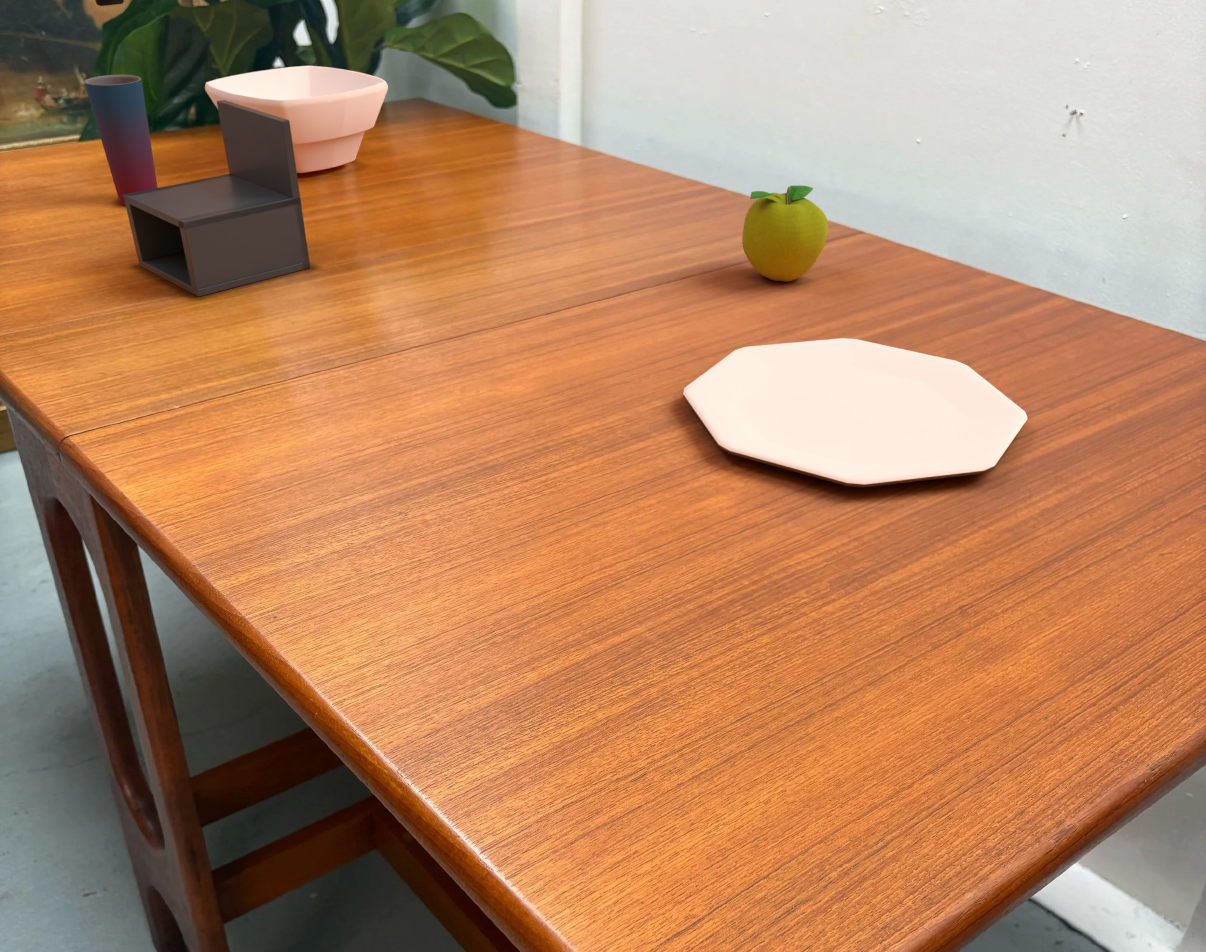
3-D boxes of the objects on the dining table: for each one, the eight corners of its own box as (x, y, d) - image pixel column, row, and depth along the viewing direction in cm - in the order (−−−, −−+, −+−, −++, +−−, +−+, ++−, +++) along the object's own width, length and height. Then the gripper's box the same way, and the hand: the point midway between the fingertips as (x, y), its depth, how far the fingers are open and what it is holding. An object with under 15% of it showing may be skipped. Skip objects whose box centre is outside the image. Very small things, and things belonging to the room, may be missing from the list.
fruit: (722, 273, 130) (728, 183, 124) (785, 259, 134) (794, 171, 128) (774, 297, 124) (783, 203, 118) (838, 282, 128) (850, 191, 122)
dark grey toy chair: (198, 297, 123) (166, 141, 113) (139, 265, 131) (105, 118, 122) (310, 267, 131) (289, 120, 121) (248, 240, 139) (224, 99, 130)
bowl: (321, 141, 180) (311, 61, 173) (415, 166, 168) (407, 81, 162) (199, 168, 166) (183, 82, 160) (291, 196, 154) (278, 105, 148)
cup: (157, 208, 150) (130, 85, 141) (105, 208, 150) (75, 84, 141) (172, 194, 155) (148, 74, 147) (122, 193, 155) (95, 74, 147)
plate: (655, 368, 108) (656, 353, 107) (922, 344, 113) (925, 330, 112) (754, 512, 86) (755, 495, 85) (1079, 474, 91) (1084, 457, 90)
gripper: (-10, -172, 131) (33, -5, 141) (51, -168, 121) (93, 11, 131) (54, -173, 135) (92, -11, 145) (119, -170, 125) (155, 4, 135)
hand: (92, 0), depth 138 cm, fingers open, 9 cm apart
